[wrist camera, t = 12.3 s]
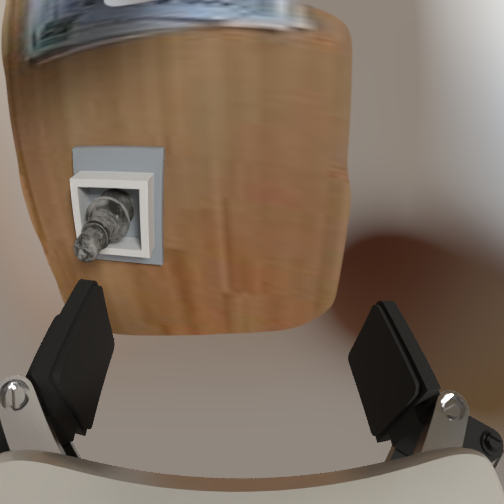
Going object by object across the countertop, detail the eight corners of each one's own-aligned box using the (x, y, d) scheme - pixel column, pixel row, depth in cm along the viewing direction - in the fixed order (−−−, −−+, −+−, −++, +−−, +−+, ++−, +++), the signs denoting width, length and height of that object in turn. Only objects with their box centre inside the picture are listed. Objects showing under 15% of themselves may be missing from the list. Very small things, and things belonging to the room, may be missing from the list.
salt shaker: (98, 226, 37) (60, 280, 27) (94, 185, 34) (48, 230, 24) (138, 229, 38) (109, 287, 28) (137, 186, 35) (101, 234, 25)
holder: (75, 146, 32) (61, 154, 29) (165, 147, 34) (157, 155, 30) (86, 253, 40) (76, 269, 37) (163, 261, 42) (158, 278, 39)
